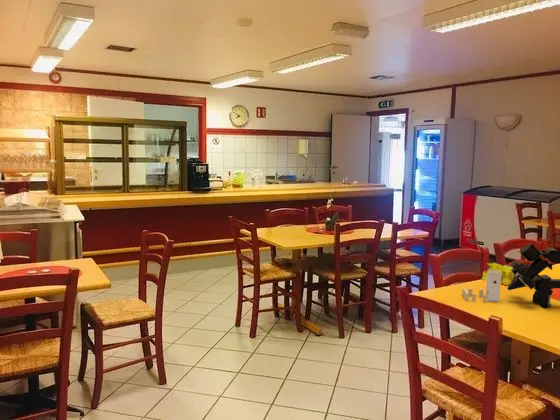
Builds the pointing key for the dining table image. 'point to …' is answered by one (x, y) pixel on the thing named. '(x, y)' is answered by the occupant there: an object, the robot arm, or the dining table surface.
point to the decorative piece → (505, 273)
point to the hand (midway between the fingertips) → (507, 289)
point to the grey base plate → (473, 295)
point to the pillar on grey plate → (493, 285)
